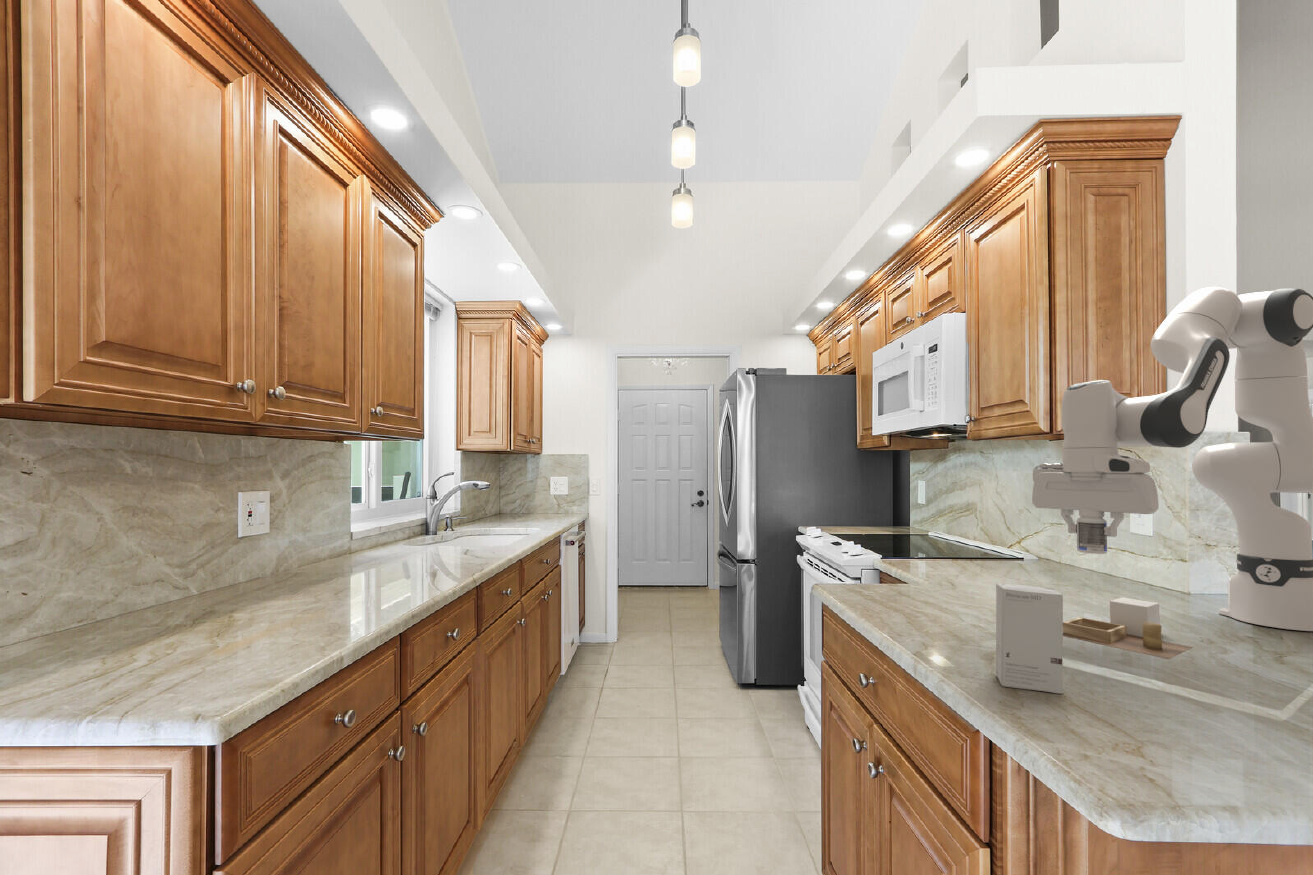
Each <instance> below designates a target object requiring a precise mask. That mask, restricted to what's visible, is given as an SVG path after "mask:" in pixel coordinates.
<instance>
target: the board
mask: <svg viewBox="0 0 1313 875" xmlns="http://www.w3.org/2000/svg"><path fill="white" fill-rule="evenodd" d="M1162 634H1163V633H1162V625H1161V624H1160V625H1159V624H1156V623H1148V622H1144V623H1143V637H1140V636H1135V635H1130V634H1127V628H1126V626H1124V625H1119V624H1114V623H1110V622H1108V621H1103V620H1096V619H1091V618H1086V617H1083V616H1082V617H1081V616H1080V617H1077V618H1074V619H1070V620H1067V621H1063V637H1065V638H1070V639H1075V640H1080V641H1083V642H1088V643H1093V644H1097V645H1100V646H1101V645H1102V646H1105V647H1110V648H1115V649H1116V648H1117V649H1120V650H1125V651H1130V652H1135V653H1139V654H1142V655H1143V654H1144V655H1147V656H1153V657H1158V658H1161V659H1166V660H1169V659H1172V658H1174V657H1176V656H1178V655H1180V654H1182V653H1185V652H1186V651H1188V650H1191V649H1192V648H1193V646H1188V645H1183V644H1179V643H1173V642H1169V641H1163V640H1162V637H1163V636H1162Z"/></svg>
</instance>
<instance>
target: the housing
mask: <svg viewBox="0 0 1313 875" xmlns="http://www.w3.org/2000/svg"><path fill="white" fill-rule="evenodd" d="M1160 617H1161V616H1160V603H1159V602H1152V601H1146V600H1141V599H1134V598H1129V597H1119V598H1115V599H1112V600H1109V619H1110V622H1109V623H1114V624H1119V625H1124V626H1126V628H1127V634H1130V635H1135V636H1140V637H1143V623H1144V622H1148V623H1156V624H1159V625H1161V623H1160V622H1161V619H1160Z"/></svg>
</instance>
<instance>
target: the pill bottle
mask: <svg viewBox="0 0 1313 875" xmlns="http://www.w3.org/2000/svg"><path fill="white" fill-rule="evenodd" d="M1078 516H1079V517H1078V518H1077V519H1076V524H1077V534H1076V550H1077V552H1080V553H1084V554H1092V555H1093V554H1094V555H1104V554H1105V555H1106V554H1107V553H1108V536H1105V535H1104V532H1105V531H1104V527H1107V526H1108V523H1107V520H1106V519H1105V518H1104V517H1105V512H1098V511H1095V510H1092V509H1081V510H1078Z"/></svg>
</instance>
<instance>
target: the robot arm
mask: <svg viewBox="0 0 1313 875" xmlns="http://www.w3.org/2000/svg"><path fill="white" fill-rule="evenodd" d="M1312 329H1313V296H1312V295H1311V294H1310V293H1309V292H1307V291H1306V290H1304V289H1302V288H1290V287H1289V288H1277V289H1275V290H1270V291H1268V290H1267V291H1266V290H1265V291H1259V292H1258V291H1256V292H1250V293H1243V294H1239V295H1237V294H1236V293H1235V292H1234V291H1232V290H1230V289H1227V288H1224V287H1220V286H1211V287H1209V286H1208V287H1205V288H1200V289H1198V290H1196V291H1194V292H1192V293H1191V294H1189V295H1188V296H1187V297H1185V298H1184V299H1183V300H1182V301H1181V302H1180V303H1179V304H1178V305H1177V306H1175V308H1174V309H1172V311H1170V313H1169V314H1168V315H1167V316H1166V318H1165V319H1164V320H1163V321H1162V323H1161V324H1160V325H1159V327H1158V328H1157V329H1156V330H1155V332H1154V333H1153V335H1152V337H1151V341H1150V350H1151V353H1152V355H1153V357H1154V358H1155V360H1156V361H1157V362H1158V363H1159V364H1160V365H1162V366H1163V367H1165V368H1167V369H1169V370H1170V371H1174V372H1177V373H1181V376H1180V377H1179V380H1178V382H1177V384H1176V386H1175V387H1174V388H1173V389H1171V390H1168V391H1166V392H1162V393H1160V394H1155V395H1154V394H1153V395H1148V396H1138V397H1128V396H1127V395H1126V396H1125V395H1123V394H1121V393H1119V391H1116V389H1115V388H1113V384H1112V382H1111V381H1110V380H1106V379H1098V380H1091V381H1085V382H1079V383H1075V384H1071V385H1069V386H1068V387H1067V388H1065V389H1064V392H1063V395H1062V401H1061V414H1060V416H1061V417H1060V418H1061V421H1060V422H1061V424H1060V425H1061V429H1062V432H1063V443H1062V447H1061V448H1062V449H1061V451H1062V452H1061V453H1062V455H1061V456H1062V463H1061V462H1060V463H1044V462H1043V463H1040V464H1039V465H1037V466H1035V468H1033V470H1032V481H1033V487H1032V495H1031V496H1032V498H1031V501H1032V503H1031V504H1032V505H1033V506H1034V507H1035V508H1036V509H1049V510H1060V516H1061V517H1062V519H1063V520H1064V521H1065V523H1066V524H1067V532H1068V534H1076V535H1077V523H1076V522H1075V520H1074V519H1073V517H1072V516H1074V511H1079V510H1081V509H1092V510H1095V511H1098V512H1104V513H1109V514H1110V516H1109V517H1110V519H1113V520H1112V522H1111V523H1110V525H1109V526H1108V525H1107V527H1104V531H1105V532H1104V535H1105V536H1107V537H1112V538H1115V537H1117V536H1118V527H1119V526H1120V524H1121V523H1122V522H1123V520H1124V518H1125V516H1124V515H1125V514H1137V515H1138V514H1140V515H1152V514H1155V513H1156V512H1157V511H1158V510H1159V505H1160V504H1159V503H1160V502H1159V495H1158V489H1157V486H1156V482H1155V480H1154V479H1153V477H1152V476H1151V475H1149V474H1147V473H1149V472H1150V470H1151V465H1150V462H1149V461H1146V460H1143V459H1139V458H1138V459H1137V458H1133V457H1130V456H1127V455H1123V454H1119V448H1120V447H1121V448H1127V447H1129V448H1131V447H1132V448H1138V447H1139V448H1141V447H1144V448H1146V447H1159V448H1177V449H1179V448H1182V449H1183V448H1186V447H1188V446H1190V445H1192V444H1193V443H1194V442H1196V440H1198V439H1199V438H1200V436H1201V435H1202V434H1203V433H1204V431H1205V428H1206V425H1207V423H1208V422H1207V421H1208V415H1209V409H1210V407H1211V405H1212V403H1213V401H1214V398H1215V396H1216V393H1217V391H1218V390H1219V387H1220V385H1221V383H1222V381H1223V378H1224V376H1225V374H1226V371H1227V369H1228V366H1229V363H1230V356H1231V355H1230V351H1229V350H1230V349H1231V350H1232V349H1237V353H1236V358H1235V359H1236V360H1235V366H1234V404H1235V405H1234V409H1235V413H1236V415H1237V416H1238V417H1239V418H1240V419H1242V420H1243V421H1244V422H1247V423H1249V424H1251V425H1255V426H1258V427H1261V428H1264V429H1266V430H1268V431H1269V432H1270V434H1271V436H1272V441H1268V442H1267V441H1265V442H1264V441H1263V442H1262V441H1261V442H1260V441H1257V442H1255V441H1254V442H1252V441H1251V442H1225V443H1219V444H1212V445H1207V446H1203V447H1202V448H1201V449H1199V450H1198V451H1197V453H1196V454H1195V456H1194V457H1193V459H1192V462H1191V463H1192V464H1191V468H1192V469H1191V470H1192V473H1193V476H1194V477H1195V479H1196V481H1197V482H1199V484H1201V485H1202V486H1203V487H1204V488H1206V489H1208V490H1210V492H1213V493H1215V494H1216V495H1217V496H1218V497H1220V499H1222V500H1223V502H1224V503H1225V504H1226V505H1227V506H1228V508H1229V509H1230V511H1231V513H1232V514H1233V517H1234V519H1235V525H1236V529H1237V536H1238V546H1239V547H1238V550H1239V553H1237V554H1236V560H1235V562H1236V569H1237V570H1238V572H1237V573H1236V574H1235V575H1233V576H1231V577H1229V578H1228V591H1227V592H1228V595H1227V607H1223V608H1219V610H1218V614H1219V615H1222V616H1228V617H1230V618H1233V619H1235V620H1238V621H1241V622H1244V623H1249V624H1254V625H1258V626H1262V627H1263V626H1264V627H1271V628H1277V629H1283V630H1284V629H1285V630H1291V631H1292V630H1293V631H1302V632H1303V631H1305V632H1313V541H1312V527H1311V525H1310V523H1309V522H1308V520H1307V519H1306V518H1305V517H1304V516H1301V515H1300V514H1298V513H1296V512H1293V511H1291V510H1289V509H1286V508H1283V507H1280V506H1278V505H1276V504H1275V503H1274V502H1273V500H1272V498H1271V494H1273V493H1282V494H1283V493H1288V494H1291V493H1292V494H1294V493H1295V494H1296V493H1297V494H1313V415H1312V412H1311V407H1310V400H1309V388H1308V365H1307V358H1306V352H1305V348H1304V344H1303V338H1304V337H1307V335H1308V334H1309V333H1310V331H1312Z"/></svg>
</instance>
